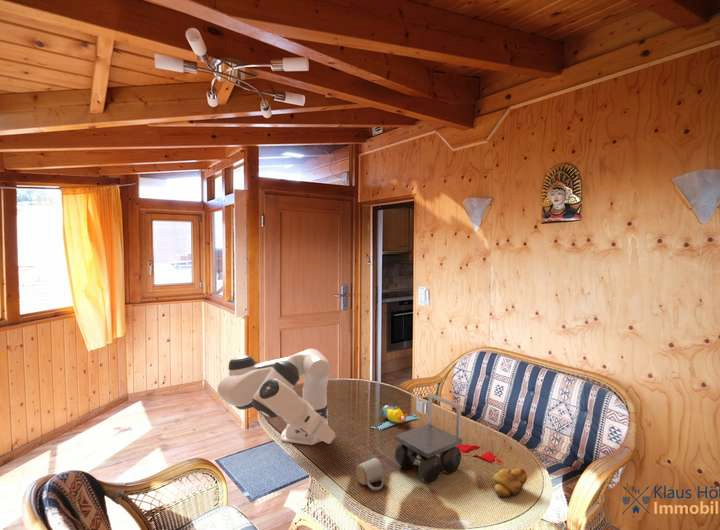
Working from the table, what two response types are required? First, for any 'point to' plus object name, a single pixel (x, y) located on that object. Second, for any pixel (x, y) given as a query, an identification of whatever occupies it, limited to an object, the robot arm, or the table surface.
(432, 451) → the trolley
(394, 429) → the table surface
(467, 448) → the cloth
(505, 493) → the bread roll
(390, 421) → the owl figurine
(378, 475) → the ceramic mug
